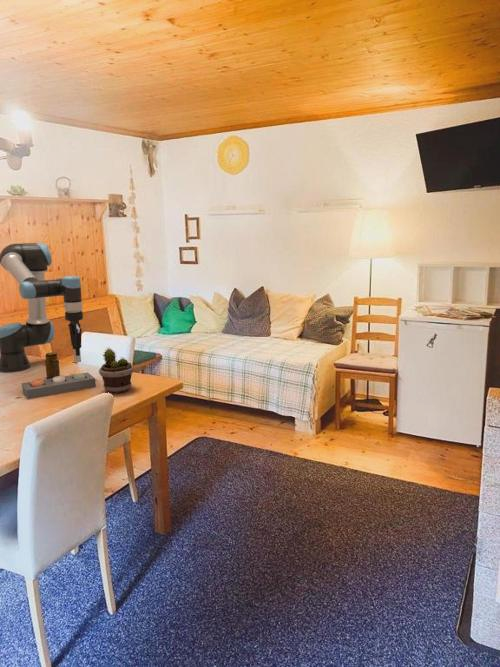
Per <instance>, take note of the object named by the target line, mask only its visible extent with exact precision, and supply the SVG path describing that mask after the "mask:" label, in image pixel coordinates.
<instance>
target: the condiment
mask: <svg viewBox="0 0 500 667" xmlns="http://www.w3.org/2000/svg"><path fill="white" fill-rule="evenodd" d="M44 362H45V372H46V374H45V375H46V376H43V378H44V379H51V378H53V377H56V376H61V375H60V374H61V371H60V363H59V362H60V361H59V358H58V352H47V353H46V354H45V360H44Z"/></svg>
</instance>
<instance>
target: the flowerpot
mask: <svg viewBox="0 0 500 667" xmlns="http://www.w3.org/2000/svg"><path fill="white" fill-rule="evenodd" d="M102 357H103V358H102V359H103V360H104V362H105V363H104V364H102V365H101V367H100V368H99V370H98V374H99V376H101V378H102V381H103V388H104V391H106V392H107V393H108V392H109V393H108V394H122V393H126V392H128V391H129V390H130V388H131V387H132V385H133V384H132V381H131V380H132V375H133V373H134V371H135V368H134V366H133V365H132V363H131V362H129V361H128V359H126V357H120V358H119V360H117V352H116V351H115V350H113V349H112V348H109V347H106V349H105V351H104V352H103V354H102Z"/></svg>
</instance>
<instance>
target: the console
mask: <svg viewBox="0 0 500 667" xmlns="http://www.w3.org/2000/svg"><path fill="white" fill-rule="evenodd" d="M78 374H79V373H76V374H70V375H63V376H64V377H65V382H60V383H53V378H51V379H46V378H44V379H42V380H43V381H44V385H42V386H36V387H32V386H31V381H27V382H26V381H25V382H22V383H21V389H22V393H23V394H24V396H25V398H26V399H27V400H30V399H37V398H42V397H48V396H53V395H58V394H64V393H69V392H75V390H76V391H79V390H80V389H81V390H85V389H86V388H87V389H92V388H96V387H97V380H96V377H94V376H93V375H91V373H89V372H81V373H80V374H84V375H85V378H83V379H77V380H74V375H78ZM87 389H86V390H87Z"/></svg>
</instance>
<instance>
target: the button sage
mask: <svg viewBox="0 0 500 667" xmlns="http://www.w3.org/2000/svg"><path fill="white" fill-rule="evenodd" d="M77 374H78V375H75V374H73V375H74V380H77V379H83V378H85V375H84V374H81V373H77Z"/></svg>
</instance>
